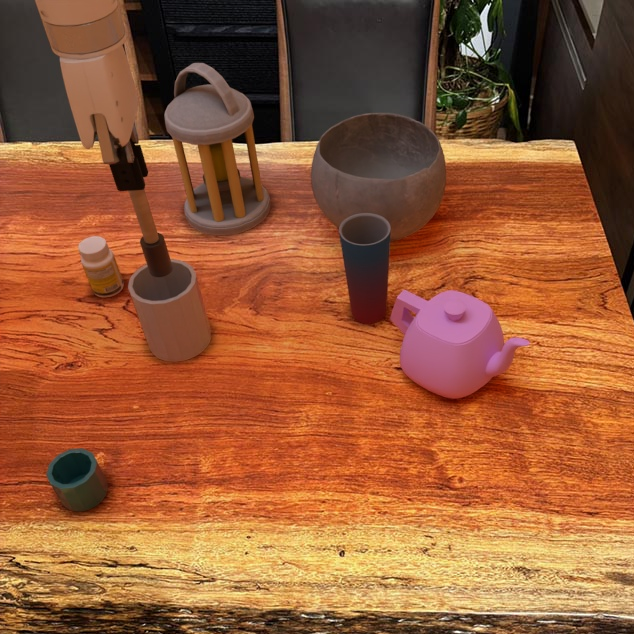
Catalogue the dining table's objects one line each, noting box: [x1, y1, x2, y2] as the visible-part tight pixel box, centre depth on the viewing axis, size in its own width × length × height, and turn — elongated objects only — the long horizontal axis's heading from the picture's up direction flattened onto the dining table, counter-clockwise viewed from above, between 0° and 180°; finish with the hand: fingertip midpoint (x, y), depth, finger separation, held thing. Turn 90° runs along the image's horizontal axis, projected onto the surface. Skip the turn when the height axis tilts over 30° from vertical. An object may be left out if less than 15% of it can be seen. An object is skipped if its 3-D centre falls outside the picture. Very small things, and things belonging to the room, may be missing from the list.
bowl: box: [310, 112, 447, 243], centre depth 124 cm, size 20×20×15 cm
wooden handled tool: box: [114, 140, 173, 277], centre depth 97 cm, size 3×3×19 cm
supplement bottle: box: [77, 235, 125, 298], centre depth 118 cm, size 5×5×8 cm
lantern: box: [164, 62, 271, 236], centre depth 124 cm, size 14×14×25 cm
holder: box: [46, 447, 109, 513], centre depth 95 cm, size 6×6×5 cm
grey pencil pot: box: [127, 258, 212, 363], centre depth 110 cm, size 9×9×11 cm
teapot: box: [389, 289, 531, 400], centre depth 104 cm, size 13×20×11 cm
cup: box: [338, 213, 391, 325], centre depth 110 cm, size 7×7×15 cm
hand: (133, 181), depth 94 cm, fingers closed on wooden handled tool
